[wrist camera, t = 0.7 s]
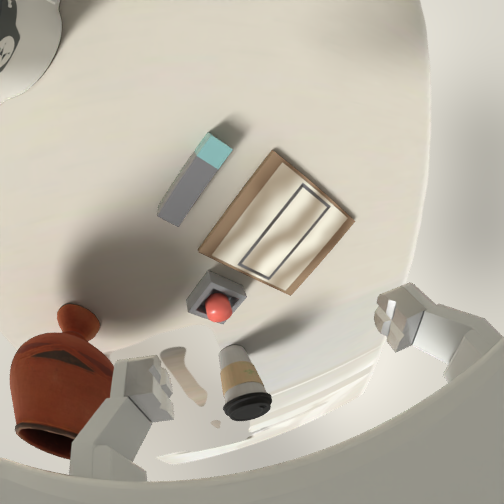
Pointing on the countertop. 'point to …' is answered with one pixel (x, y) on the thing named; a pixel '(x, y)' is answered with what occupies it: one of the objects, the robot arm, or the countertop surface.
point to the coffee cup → (242, 386)
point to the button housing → (210, 286)
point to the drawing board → (277, 227)
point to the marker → (193, 179)
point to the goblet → (59, 382)
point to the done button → (218, 307)
